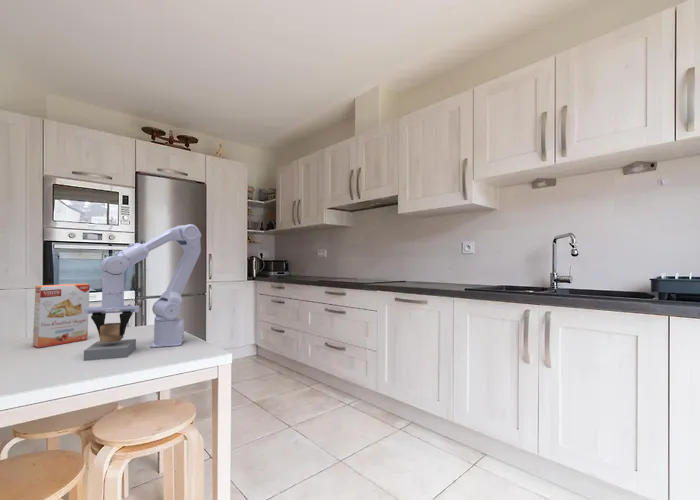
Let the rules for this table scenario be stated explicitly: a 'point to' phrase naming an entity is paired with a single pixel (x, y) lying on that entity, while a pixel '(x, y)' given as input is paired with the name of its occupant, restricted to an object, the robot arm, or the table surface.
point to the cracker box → (60, 314)
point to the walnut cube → (110, 332)
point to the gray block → (110, 350)
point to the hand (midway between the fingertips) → (112, 335)
